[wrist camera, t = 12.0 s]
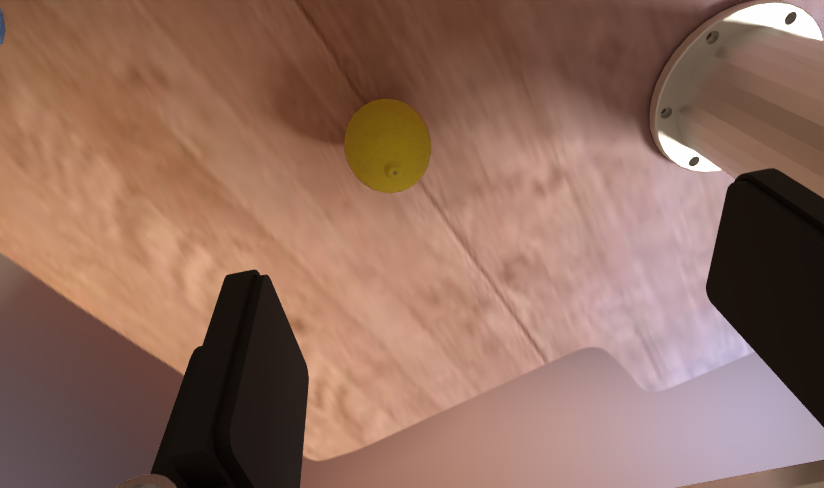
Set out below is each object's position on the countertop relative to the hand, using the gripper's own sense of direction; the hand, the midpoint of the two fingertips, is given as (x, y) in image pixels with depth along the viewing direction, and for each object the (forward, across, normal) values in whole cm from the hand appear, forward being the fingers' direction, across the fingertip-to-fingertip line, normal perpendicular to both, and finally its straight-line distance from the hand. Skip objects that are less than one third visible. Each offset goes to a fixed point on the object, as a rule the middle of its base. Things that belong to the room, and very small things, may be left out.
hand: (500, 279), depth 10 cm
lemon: (+27, +2, +6) cm, 28 cm away
